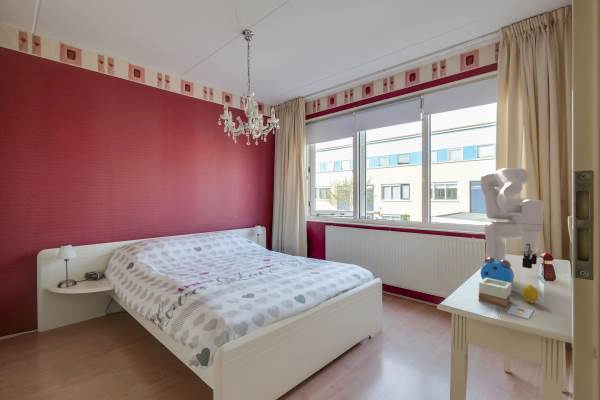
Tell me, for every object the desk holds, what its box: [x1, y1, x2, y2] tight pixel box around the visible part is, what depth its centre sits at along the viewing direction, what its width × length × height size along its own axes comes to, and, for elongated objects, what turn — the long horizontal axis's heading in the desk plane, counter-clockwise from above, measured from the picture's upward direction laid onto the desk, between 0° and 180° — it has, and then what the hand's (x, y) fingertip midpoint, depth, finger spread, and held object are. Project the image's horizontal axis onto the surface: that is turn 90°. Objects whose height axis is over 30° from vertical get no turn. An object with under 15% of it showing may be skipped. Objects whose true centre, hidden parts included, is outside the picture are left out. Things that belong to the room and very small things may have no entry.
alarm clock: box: [480, 257, 515, 283], centre depth 143 cm, size 13×6×15 cm, turn 38°
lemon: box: [521, 284, 539, 303], centre depth 125 cm, size 6×6×8 cm
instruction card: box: [506, 305, 534, 320], centre depth 116 cm, size 10×7×1 cm
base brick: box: [478, 291, 512, 309], centre depth 126 cm, size 10×10×4 cm
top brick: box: [478, 278, 513, 299], centre depth 126 cm, size 10×10×4 cm
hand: (529, 265), depth 124 cm, fingers open, 9 cm apart
